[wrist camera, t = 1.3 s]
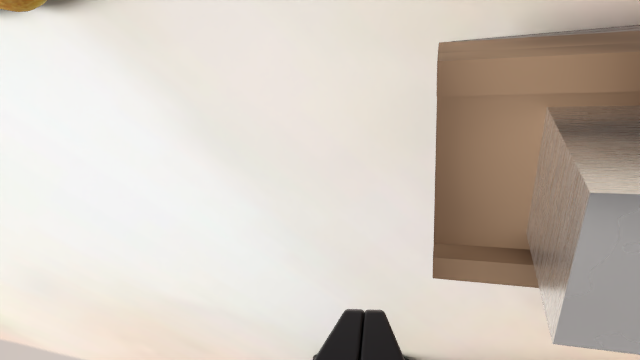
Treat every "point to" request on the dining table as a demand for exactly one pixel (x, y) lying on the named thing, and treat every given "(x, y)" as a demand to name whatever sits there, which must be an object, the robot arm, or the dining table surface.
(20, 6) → the bread roll
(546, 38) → the beam
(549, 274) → the rider
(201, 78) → the dining table surface
